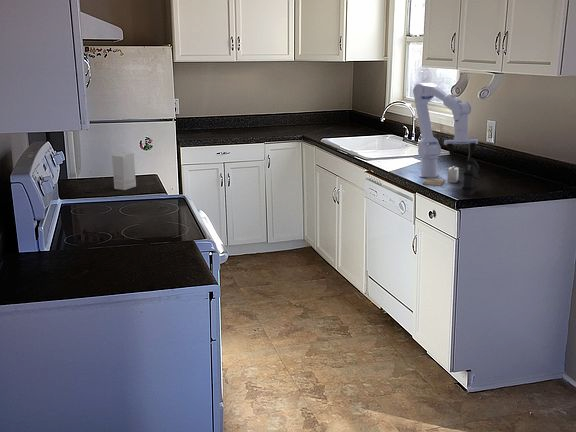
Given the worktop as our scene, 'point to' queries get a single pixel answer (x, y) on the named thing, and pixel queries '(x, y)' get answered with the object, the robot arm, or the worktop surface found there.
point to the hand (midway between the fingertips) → (460, 160)
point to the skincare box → (124, 171)
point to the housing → (453, 174)
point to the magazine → (470, 177)
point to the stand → (433, 181)
